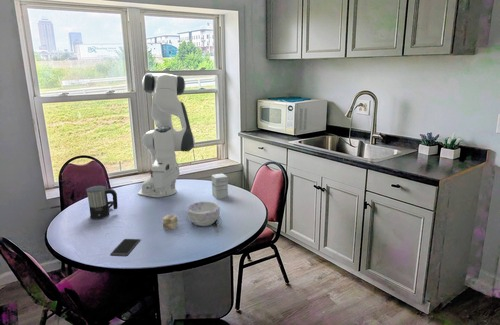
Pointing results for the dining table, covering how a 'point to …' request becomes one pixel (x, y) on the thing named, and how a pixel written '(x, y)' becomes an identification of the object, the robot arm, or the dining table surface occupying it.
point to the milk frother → (100, 201)
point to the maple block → (170, 222)
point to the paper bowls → (203, 213)
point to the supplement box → (219, 186)
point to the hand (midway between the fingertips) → (168, 192)
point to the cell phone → (125, 247)
